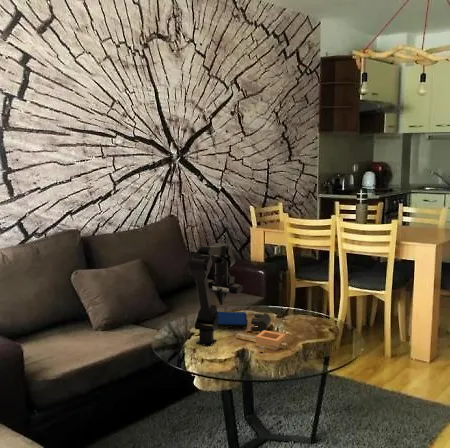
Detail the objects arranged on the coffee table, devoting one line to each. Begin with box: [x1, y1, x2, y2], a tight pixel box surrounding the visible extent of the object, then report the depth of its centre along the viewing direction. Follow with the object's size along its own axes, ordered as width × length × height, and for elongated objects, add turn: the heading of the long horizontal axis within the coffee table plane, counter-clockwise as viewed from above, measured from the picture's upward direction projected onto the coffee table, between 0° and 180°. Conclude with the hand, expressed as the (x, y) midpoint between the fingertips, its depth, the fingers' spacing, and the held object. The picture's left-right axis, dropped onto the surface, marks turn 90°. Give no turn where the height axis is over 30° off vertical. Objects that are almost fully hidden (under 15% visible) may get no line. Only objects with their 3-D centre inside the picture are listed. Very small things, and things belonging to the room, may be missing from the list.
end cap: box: [250, 312, 272, 332], centre depth 250 cm, size 10×7×7 cm
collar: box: [255, 330, 286, 347], centre depth 234 cm, size 8×10×4 cm
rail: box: [236, 331, 288, 349], centre depth 236 cm, size 18×23×2 cm
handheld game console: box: [217, 311, 248, 328], centre depth 256 cm, size 16×13×9 cm
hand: (221, 304), depth 252 cm, fingers closed
